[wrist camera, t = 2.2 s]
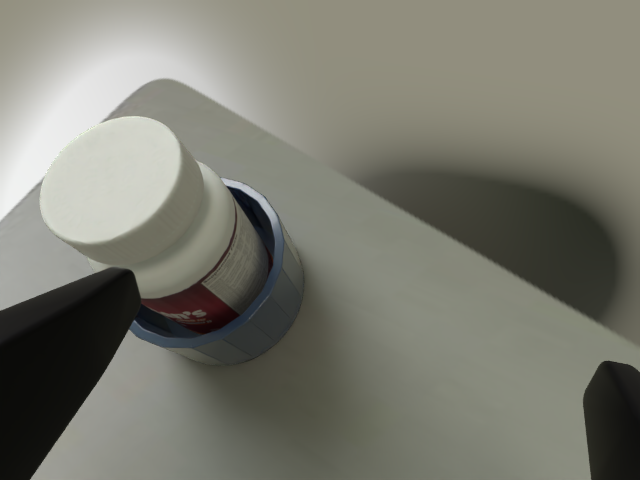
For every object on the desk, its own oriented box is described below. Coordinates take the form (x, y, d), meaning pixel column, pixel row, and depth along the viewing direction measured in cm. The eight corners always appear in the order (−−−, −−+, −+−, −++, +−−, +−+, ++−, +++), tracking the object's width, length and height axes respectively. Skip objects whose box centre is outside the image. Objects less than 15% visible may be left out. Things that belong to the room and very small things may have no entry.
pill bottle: (158, 321, 24) (-15, 236, 14) (203, 226, 26) (82, 93, 16) (256, 354, 22) (140, 283, 12) (295, 249, 25) (224, 117, 14)
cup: (197, 399, 22) (147, 388, 18) (138, 273, 26) (85, 239, 22) (334, 304, 23) (319, 273, 19) (258, 196, 27) (230, 148, 23)
